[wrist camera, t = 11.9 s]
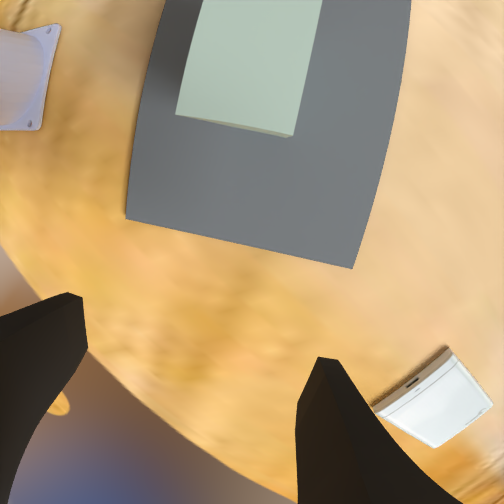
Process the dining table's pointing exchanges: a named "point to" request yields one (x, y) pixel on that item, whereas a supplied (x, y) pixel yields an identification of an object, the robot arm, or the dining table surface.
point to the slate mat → (275, 141)
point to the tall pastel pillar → (249, 63)
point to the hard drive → (436, 401)
